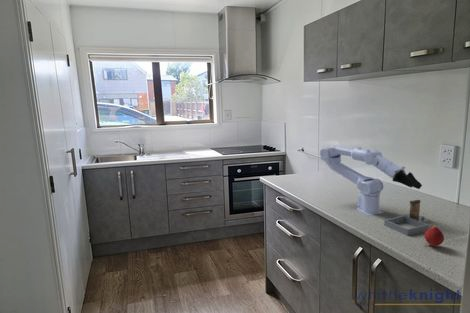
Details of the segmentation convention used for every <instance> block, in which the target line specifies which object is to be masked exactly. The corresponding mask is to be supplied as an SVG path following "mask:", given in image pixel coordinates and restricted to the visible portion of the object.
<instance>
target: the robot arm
mask: <svg viewBox="0 0 470 313" xmlns="http://www.w3.org/2000/svg"><path fill="white" fill-rule="evenodd" d="M319 155H320V158H321V160H322V161H323V162H325V163H326V165H327V166H328V167H329V169H330V170H332V172H333V171H334V172H335V173H337V174H338V175H340V176H342V177H343V178H345V179H347V180H349V181H350V182H352V183H353V184H355V185H356V189H358V190H359V191H360V192H359V194H358V196H357V208H356V210H357V211H359V212H362V213H365V214H366V215H369V216H373V215H378V214H384V212H383V211H382V210H380V197H381V192H382V191H383V190H384V183H383V182H382V180H381V179H379V178H374V177H371V176H365V175H363V174H362V173H360V172H358V171H356V170H354V169H353V168H351V167H349V166H347V165H345V164H344V163H342V156H348V157H351V158H352V160H355V161H358V162H364V163H365V164H366V165H372V166H374V167H375V168H376V169H378V170H379V171H380V172H382V173H384V174H385V175H386V176H388V177H390V178H391V179H392V180H391V181H392V182H396V183H399V184H402V185H404V186H406V187H408V188H415V189H418V190H420V189H421V188H422V187H423V184H422V183H420V181H418V179H416V178H415V176H414V174H413V173H412V172H411V171H409V172H408V173H407V172H406V171H405V169H406V166H404V165H402V166H401V167H400V166H398V165H397V164H396V163H395V162H393V161H391V160H389V159H388V158H387V157H384V156H383V155H382V152H381V151H379V150H377V149H375V150H371V149H369V148H368V149H365V148H364V149H363V148H362V147H359V146H358V147H355V148H354V149H351V148H347V147H343V146H340V145H338V146H337V145H334V146H333V145H332V146H329V147H328V146H327V147H322V148H321V149H320V151H319Z"/></svg>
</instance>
